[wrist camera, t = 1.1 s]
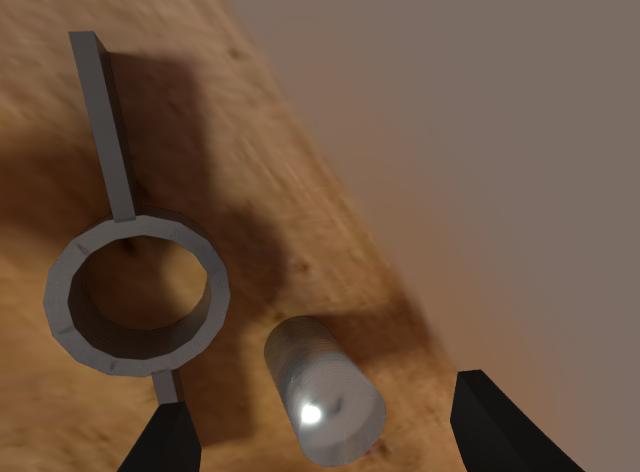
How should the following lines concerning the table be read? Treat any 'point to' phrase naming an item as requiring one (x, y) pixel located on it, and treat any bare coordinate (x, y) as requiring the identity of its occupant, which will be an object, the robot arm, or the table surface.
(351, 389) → the hinge pin
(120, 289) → the table surface
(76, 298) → the hinge
